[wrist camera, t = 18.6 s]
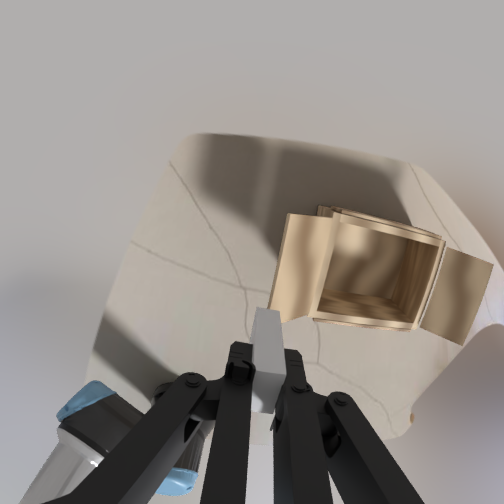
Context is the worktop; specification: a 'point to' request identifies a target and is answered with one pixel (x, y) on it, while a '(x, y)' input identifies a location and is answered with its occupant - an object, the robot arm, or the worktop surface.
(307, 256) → the flap
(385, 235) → the carton
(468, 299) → the flap
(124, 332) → the worktop surface
